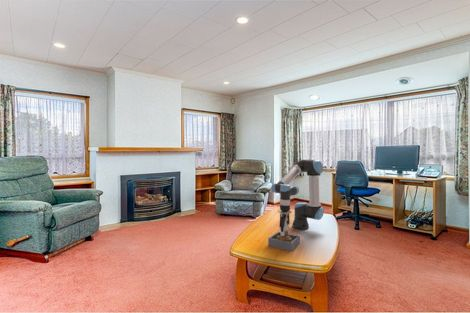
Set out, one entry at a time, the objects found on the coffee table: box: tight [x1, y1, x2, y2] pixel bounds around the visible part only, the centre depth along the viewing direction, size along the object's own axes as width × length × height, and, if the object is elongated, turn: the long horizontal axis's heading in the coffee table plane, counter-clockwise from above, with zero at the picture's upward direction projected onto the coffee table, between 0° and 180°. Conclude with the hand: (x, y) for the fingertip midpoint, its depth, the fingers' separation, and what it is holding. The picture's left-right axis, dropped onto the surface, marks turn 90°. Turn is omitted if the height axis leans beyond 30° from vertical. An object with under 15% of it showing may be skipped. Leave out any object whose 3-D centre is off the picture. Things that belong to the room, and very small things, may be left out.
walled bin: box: [267, 231, 301, 252], centre depth 195 cm, size 18×18×6 cm
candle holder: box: [275, 209, 293, 243], centre depth 194 cm, size 11×11×24 cm
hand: (284, 234), depth 194 cm, fingers closed on candle holder, 7 cm apart
